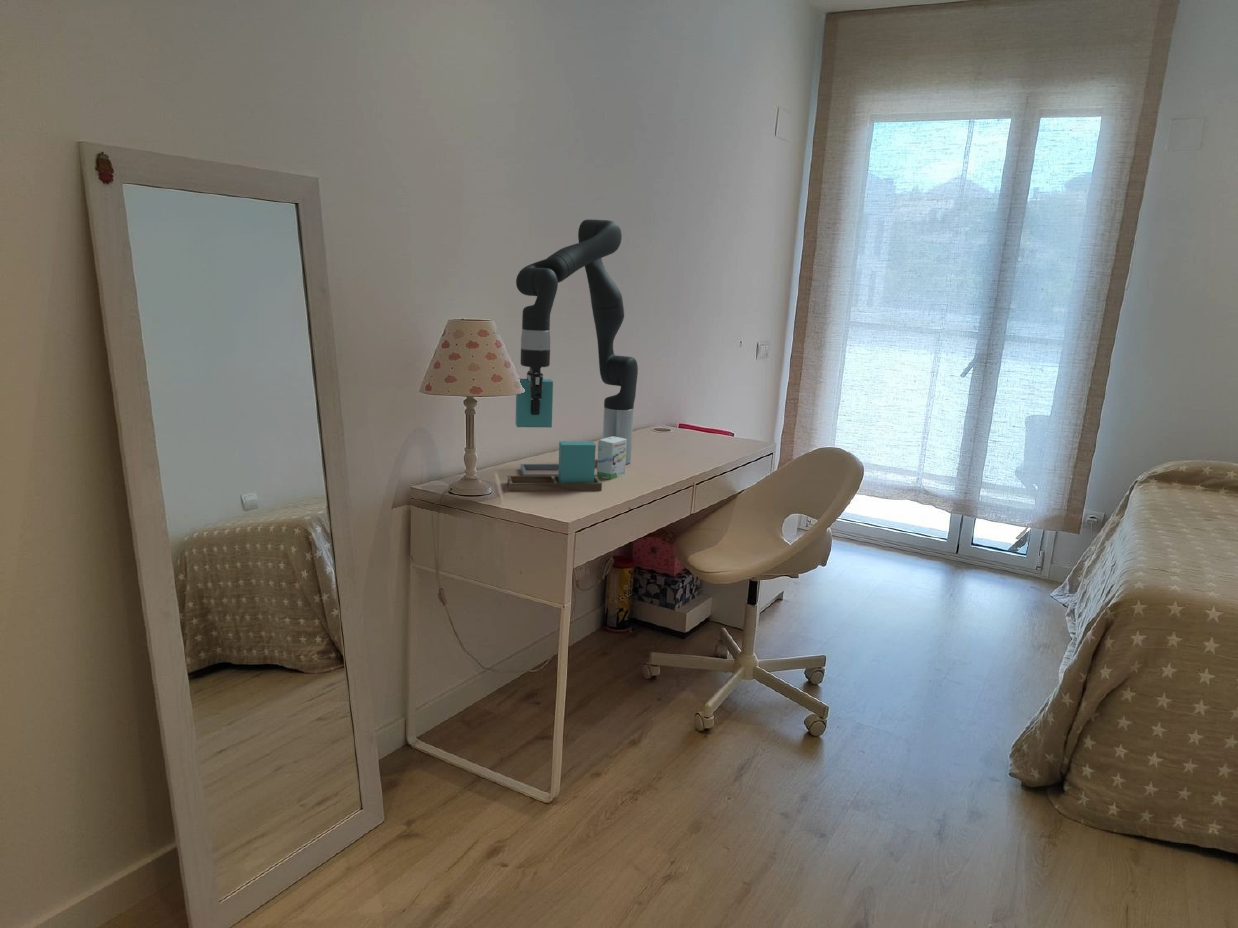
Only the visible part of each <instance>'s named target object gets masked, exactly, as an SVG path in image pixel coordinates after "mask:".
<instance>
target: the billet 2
mask: <svg viewBox="0 0 1238 928" xmlns="http://www.w3.org/2000/svg"><path fill="white" fill-rule="evenodd" d="M558 443H559V445H558V464H559V470H557V471H558V472H557V474H558V483H594V476H595V469H596V449H597V448H596V446H597V445H596V444H595V443H594V442H593V440H591V441H588V440H584V441H581V440H580V441H579V440H578V441H577V440H575V441H574V440H571V441H570V440H568V441H567V440H559V442H558Z"/></svg>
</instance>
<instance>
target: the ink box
mask: <svg viewBox="0 0 1238 928" xmlns="http://www.w3.org/2000/svg"><path fill="white" fill-rule="evenodd" d="M626 446H627V439H624V438H619V437H615V436H612V437H608V438H604V439H603V438H601V439H599V440H598V441H597V466H596V476H597V477H598V479H602V480H603V479H604V480H611V481H612V480H615V479H616V478H617V479H618V478H619V477H623V476H625V475H626V465H627V464H626Z"/></svg>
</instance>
